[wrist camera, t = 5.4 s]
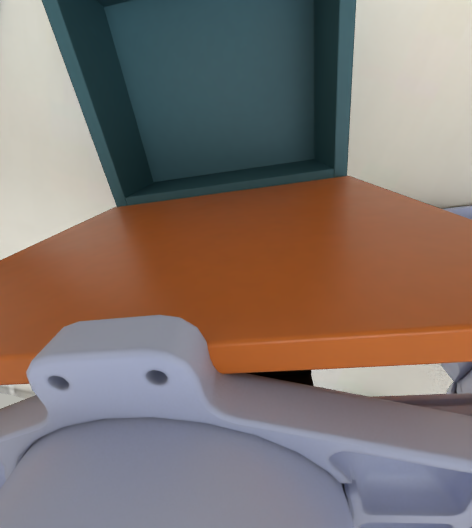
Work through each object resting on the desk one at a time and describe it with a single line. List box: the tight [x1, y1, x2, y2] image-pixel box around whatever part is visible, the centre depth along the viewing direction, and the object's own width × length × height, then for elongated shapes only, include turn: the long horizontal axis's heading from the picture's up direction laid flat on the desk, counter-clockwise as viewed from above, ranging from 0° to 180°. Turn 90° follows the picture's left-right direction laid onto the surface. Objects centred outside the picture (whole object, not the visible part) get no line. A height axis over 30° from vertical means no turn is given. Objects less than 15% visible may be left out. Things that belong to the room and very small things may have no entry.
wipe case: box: [42, 0, 356, 207], centre depth 15 cm, size 11×13×6 cm
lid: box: [0, 176, 472, 385], centre depth 9 cm, size 12×13×1 cm
